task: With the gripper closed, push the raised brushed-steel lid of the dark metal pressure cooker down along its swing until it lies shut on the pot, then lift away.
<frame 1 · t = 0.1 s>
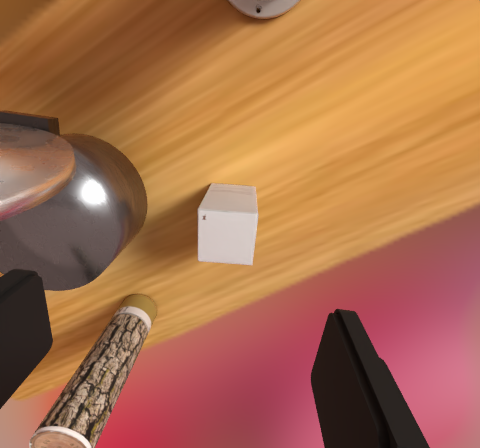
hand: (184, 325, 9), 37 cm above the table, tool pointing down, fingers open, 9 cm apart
supplement box: (232, 205, 47), on the table
pressure cooker pot: (87, 196, 47), on the table
brown cylindrical piece: (141, 306, 55), on the table
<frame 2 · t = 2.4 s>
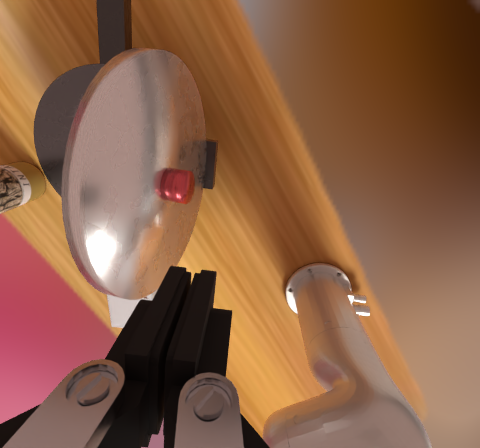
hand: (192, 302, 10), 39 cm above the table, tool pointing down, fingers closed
supplement box: (157, 268, 56), on the table
pressure cooker pot: (146, 143, 47), on the table
cooker lid: (170, 184, 26), point 23 cm above the table, hinge at 80.0°
brown cylindrical piece: (30, 179, 51), on the table
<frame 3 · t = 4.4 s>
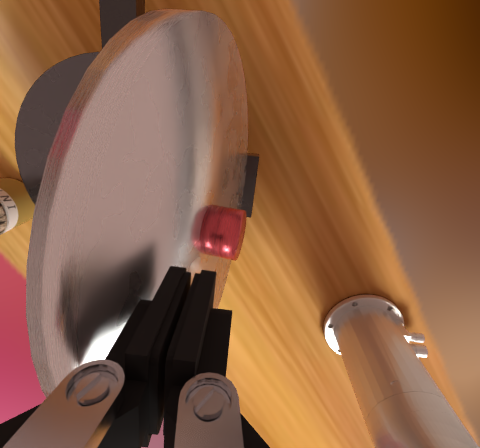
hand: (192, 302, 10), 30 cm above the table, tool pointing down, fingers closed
pressure cooker pot: (159, 154, 38), on the table
cooker lid: (212, 229, 17), point 23 cm above the table, hinge at 80.0°, touching gripper
brown cylindrical piece: (18, 198, 42), on the table
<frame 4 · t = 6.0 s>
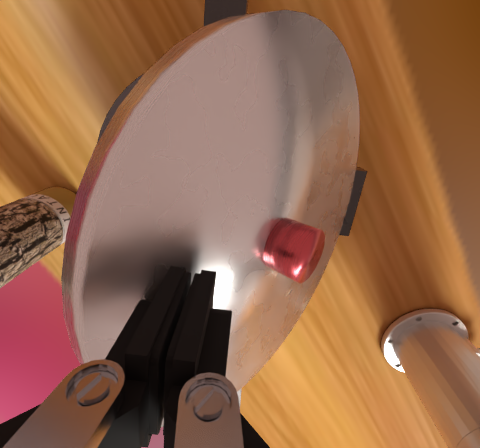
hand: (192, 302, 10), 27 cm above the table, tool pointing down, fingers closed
pressure cooker pot: (222, 162, 36), on the table
cooker lid: (283, 244, 16), point 22 cm above the table, hinge at 52.0°, touching gripper
brown cylindrical piece: (66, 208, 39), on the table
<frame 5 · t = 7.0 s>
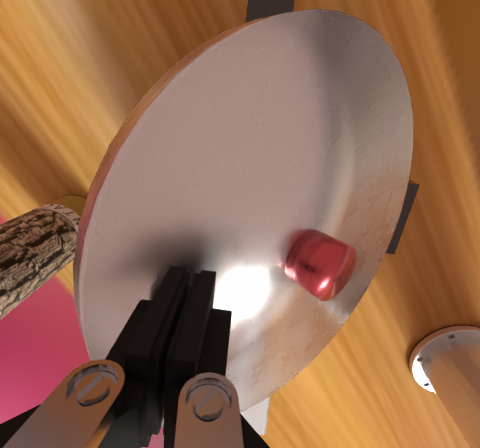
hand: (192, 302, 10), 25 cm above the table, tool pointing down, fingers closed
supplement box: (241, 329, 43), on the table
pressure cooker pot: (248, 171, 34), on the table
cooker lid: (309, 257, 15), point 20 cm above the table, hinge at 40.3°, touching gripper
brown cylindrical piece: (81, 218, 37), on the table
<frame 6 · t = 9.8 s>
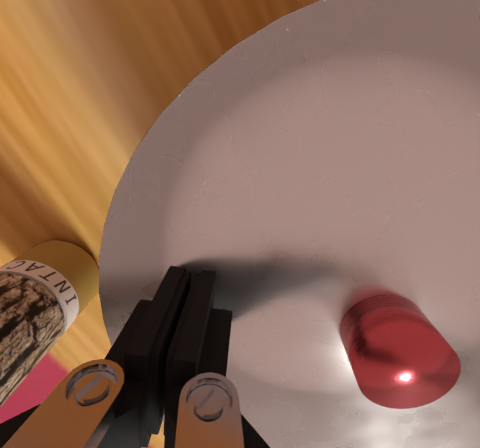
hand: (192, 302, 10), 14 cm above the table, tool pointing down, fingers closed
cooker lid: (383, 333, 10), point 14 cm above the table, hinge at -0.2°, touching gripper
brown cylindrical piece: (69, 268, 27), on the table
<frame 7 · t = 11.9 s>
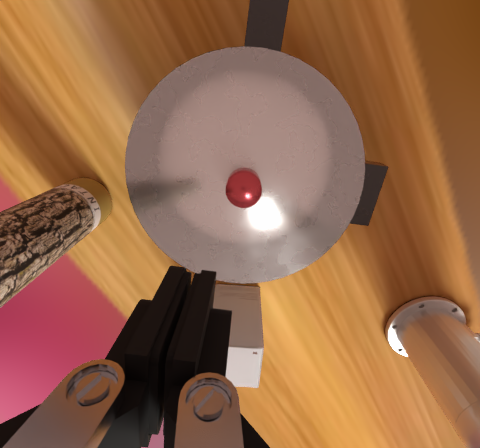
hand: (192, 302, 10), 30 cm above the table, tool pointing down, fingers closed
supplement box: (236, 301, 48), on the table
pressure cooker pot: (244, 156, 38), on the table
cooker lid: (243, 185, 25), point 14 cm above the table, hinge at -0.2°
brown cylindrical piece: (91, 199, 41), on the table
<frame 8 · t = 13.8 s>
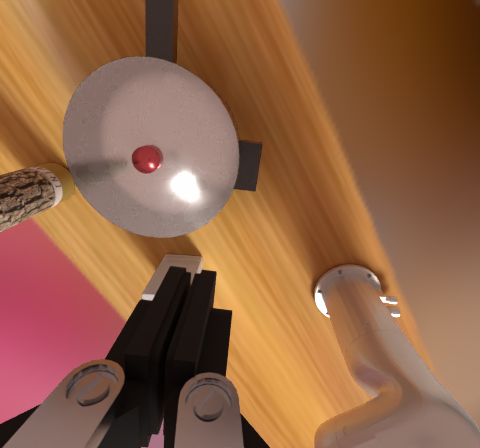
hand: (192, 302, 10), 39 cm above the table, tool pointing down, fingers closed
supplement box: (184, 270, 56), on the table
pressure cooker pot: (178, 144, 47), on the table
cooker lid: (150, 157, 34), point 14 cm above the table, hinge at -0.2°
brown cylindrical piece: (58, 181, 50), on the table
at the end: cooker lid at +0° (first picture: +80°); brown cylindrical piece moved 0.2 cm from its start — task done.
